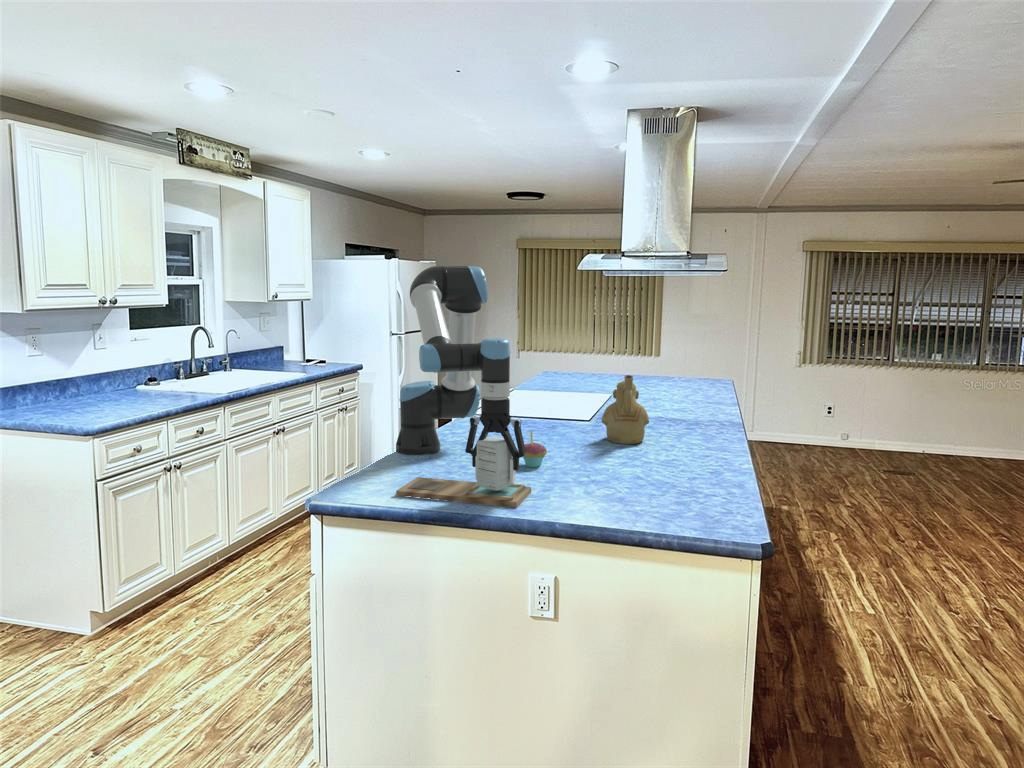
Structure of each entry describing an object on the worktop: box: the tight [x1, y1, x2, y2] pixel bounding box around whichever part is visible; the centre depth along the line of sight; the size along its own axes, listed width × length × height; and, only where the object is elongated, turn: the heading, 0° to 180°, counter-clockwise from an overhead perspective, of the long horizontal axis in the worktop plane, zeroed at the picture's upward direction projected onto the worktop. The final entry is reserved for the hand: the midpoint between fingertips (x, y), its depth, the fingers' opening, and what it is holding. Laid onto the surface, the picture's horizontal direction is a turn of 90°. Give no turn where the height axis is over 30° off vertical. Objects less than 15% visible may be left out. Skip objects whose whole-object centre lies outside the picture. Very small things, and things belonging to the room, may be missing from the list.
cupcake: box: [522, 429, 548, 468], centre depth 223 cm, size 9×8×12 cm
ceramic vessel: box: [601, 374, 650, 445], centre depth 256 cm, size 17×20×25 cm
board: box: [395, 476, 532, 509], centre depth 193 cm, size 34×14×2 cm, turn 73°
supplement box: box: [476, 435, 515, 491], centre depth 189 cm, size 7×7×13 cm
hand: (495, 480), depth 190 cm, fingers closed on supplement box, 9 cm apart
